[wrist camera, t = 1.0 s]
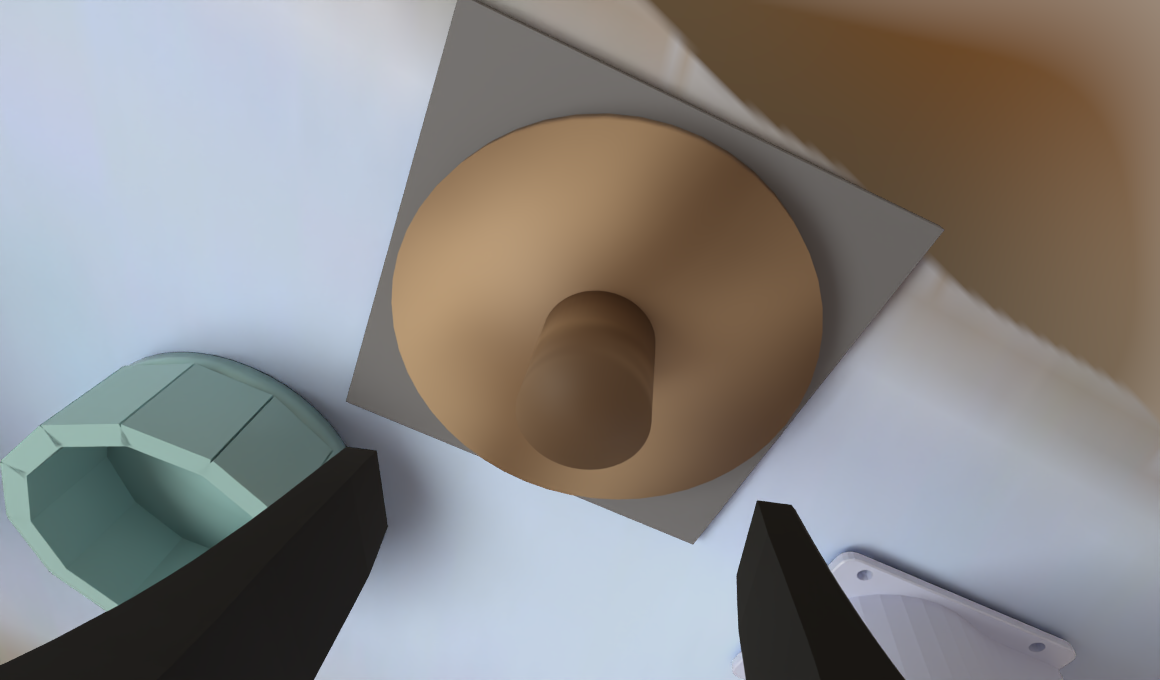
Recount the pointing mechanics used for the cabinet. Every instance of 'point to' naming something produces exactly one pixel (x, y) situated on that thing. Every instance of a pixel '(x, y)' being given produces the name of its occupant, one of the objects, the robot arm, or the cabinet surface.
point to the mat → (589, 86)
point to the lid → (607, 307)
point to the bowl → (158, 469)
